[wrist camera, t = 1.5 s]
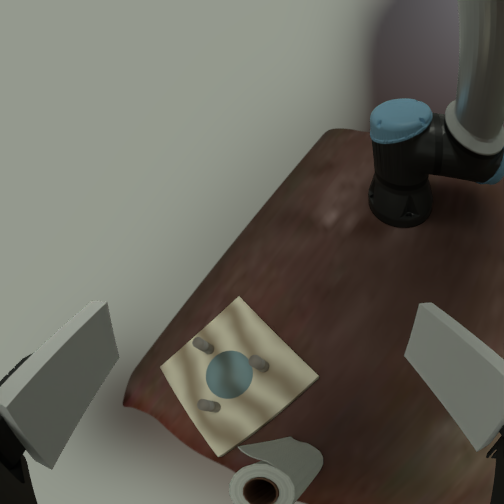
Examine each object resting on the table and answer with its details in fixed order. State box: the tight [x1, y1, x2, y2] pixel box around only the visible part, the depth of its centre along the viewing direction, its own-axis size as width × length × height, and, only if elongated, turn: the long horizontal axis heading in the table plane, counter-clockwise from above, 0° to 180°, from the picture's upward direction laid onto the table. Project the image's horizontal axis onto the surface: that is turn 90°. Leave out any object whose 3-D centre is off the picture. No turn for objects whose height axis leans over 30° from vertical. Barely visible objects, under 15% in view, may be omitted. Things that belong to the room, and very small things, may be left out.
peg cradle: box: [160, 297, 319, 457], centre depth 43 cm, size 22×22×6 cm
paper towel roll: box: [229, 436, 323, 504], centre depth 24 cm, size 7×6×21 cm
